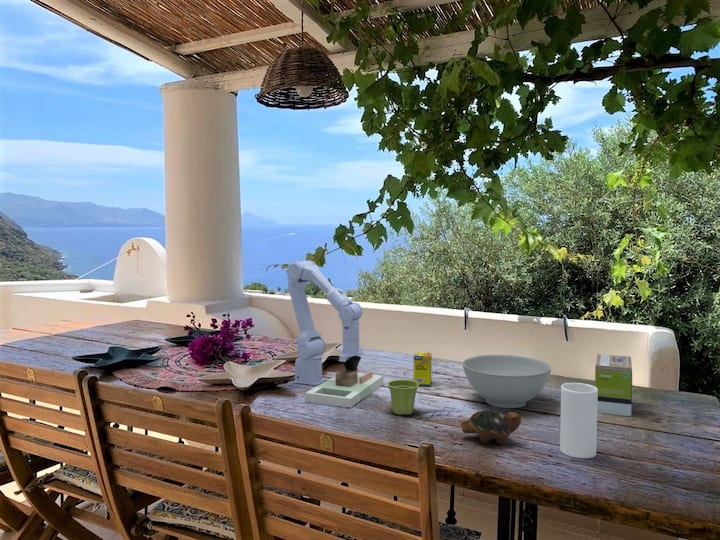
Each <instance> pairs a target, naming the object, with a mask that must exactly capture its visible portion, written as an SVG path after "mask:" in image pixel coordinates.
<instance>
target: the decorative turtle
mask: <svg viewBox="0 0 720 540" xmlns="http://www.w3.org/2000/svg"><path fill="white" fill-rule="evenodd" d="M520 424H522V418H521V416H520V415H519V414H518V413H516V412H513V411H511V412H510V411H509V412H507V413H506V414H505V415H504V414H503V412H502V413H501V412H500V411H497V410H491V409H485V410H481V411H477V412H474V413H473V414H472V415H470V417H469V419H467V420H464V421H462V422H460V426H461V431H462V433H464V434H476V435H478V437H479V439H480V442H482V444H484V445H485V444H488V443H490V442H491V441H492V440H495V441H496V443H497V444H498V445H499V446H504V445H506V443H507V441H508V439H509V437H510V435H511V434H513V433H514V432H515V431H516V430H518V428H519V426H520Z"/></svg>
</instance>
